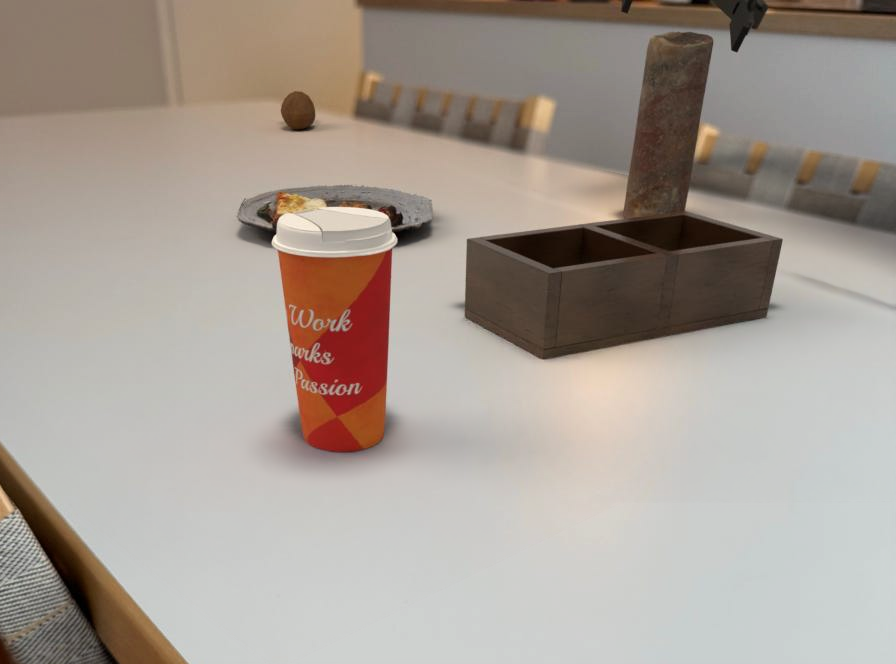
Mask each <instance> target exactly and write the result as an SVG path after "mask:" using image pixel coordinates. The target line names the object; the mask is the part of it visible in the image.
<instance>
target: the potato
mask: <svg viewBox="0 0 896 664" xmlns="http://www.w3.org/2000/svg"><path fill="white" fill-rule="evenodd" d="M280 115H281V117H282V119H283V121H284V123H285V124H286V125H287V127H288V128H290V129H293V130H303V129H306V128H309V127H310V126H312V125H313V124H314V122H315V119H316V108H315V104H314V102H313V100H312V99H311V98H310V96H309V95H308V94H306V93H305V92H303V91H299V90H298V91H297V90H295V91H292V92H290V93H289V94H288V95H286V97H284V99H283V100H282V103H281V107H280Z"/></svg>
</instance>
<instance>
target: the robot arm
mask: <svg viewBox="0 0 896 664" xmlns="http://www.w3.org/2000/svg"><path fill="white" fill-rule="evenodd" d="M633 1H634V0H621V9H620V12H621V13H625V14H629V11H630V8H631V6H632V4H633ZM710 1H711V3H713V5H715V6H716V7H717V8H718V9H719V10H721V12H723V14H725V15H726V16H727V18H729V19H730V22H729V25H728V26H729V36H730V38H729V39H730V51H731V52H734V53H738V52H739V50H740V48H741V46H742V44H743V42H744V40H745V38H746V36H748V35H749V33H750V31H751V30H752V29H753V30H758V29H759V27H760V25H761V24H762V21H763V19H764V17H765V16H766V14H767V11H768V10H769V5H768V4H767V3H766V1H765V0H710Z"/></svg>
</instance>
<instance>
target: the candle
mask: <svg viewBox="0 0 896 664" xmlns="http://www.w3.org/2000/svg"><path fill="white" fill-rule="evenodd" d="M714 43H715V41H714V38H713V36H711V35H709V34H705V33H698V32H693V31H684V32H681V31H676V32H675V31H669V32H663V33H661V34H656V35H653V36H652V37H650V38H649V41H648V44H647V48H646V54H645V62H644V67H643V68H644V70H643V74H642V75H643V77H642V84H641V90H640V97H639V102H638V110H637V118H636V125H635V132H634V140H633V146H632V153H631V158H630V166H629V171H628V178H627V184H626V189H625V190H626V191H625V198H624V204H623V214H622V218H623V219H626V218H634V217H642V216H650V215H657V214H665V213H673V212H681V211H686V206H687V202H688V196H689V190H690V185H691V180H692V179H691V178H692V172H693V166H694V159H695V155H696V148H697V142H698V135H699V130H700V122H701V117H702V110H703V106H704V99H705V94H706V88H707V82H708V77H709V73H710V72H709V71H710V65H711V60H712V55H713V54H712V53H713V48H714Z"/></svg>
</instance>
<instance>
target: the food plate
mask: <svg viewBox="0 0 896 664" xmlns="http://www.w3.org/2000/svg"><path fill="white" fill-rule="evenodd" d="M321 207H354V208H364V209H370V210H375V211H379V212H382V213H384V214H386V215H387V216H388V217H389V219H390V222H391V228H392V232H393V233H395V232H398V233H401V232H402V231H404V230H407V231H408V230H410V229H412V232H414V229H416V230H417V229H419V228H420V227H421V226H422V224H423V223H424V224H425V225H429V224H430V222H431V221H432V220H433V219H434V217H433V216H434V211H433V200H432V199H430V198H427V196H422V195H418V194H415V193H414V194H413V193H409V192H405V191H401V190H397V189H396V190H395V189H393V188H391V189H390V188H385V187H383V188H382V187H377V186H368V185H367V186H365V185H363V184H362V185H360V186H359V185H353V184H344V185H342V184H339V185H337V184H336V185H335V184H334V185H327V184H325V185H311V186H303V187H290V188H282V189H276V190H272V191H266V192H262V193H259V194H257V195H255V196H253V197H252V196H251V197H249V198H245V197H244V199H243V201H242V202H241V203H240V206H239V208H238V211H237V213H236V218H237V220H238V221H239V222H240V223H241V224H243V225H245V226H249V227H252V228H253V227H254V228H256V229H259V230H263V231H265V232H266V231H267V232H274V233H277V222H278V220H279V218H280V217H281V216H282V215H284V214H287V213H291V214H294V215H295V212H297V211H302V210H308V209H313V211H316V210H317V208H321Z"/></svg>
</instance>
